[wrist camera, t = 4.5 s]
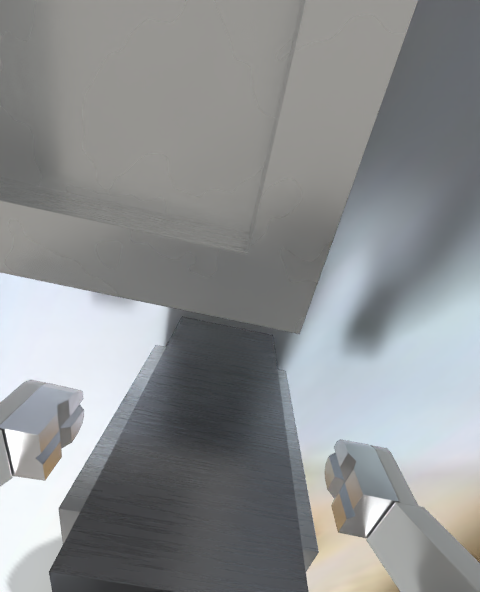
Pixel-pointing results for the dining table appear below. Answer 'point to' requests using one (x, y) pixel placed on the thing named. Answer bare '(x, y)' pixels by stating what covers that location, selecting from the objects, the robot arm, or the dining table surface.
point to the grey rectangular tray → (187, 144)
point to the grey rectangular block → (194, 477)
